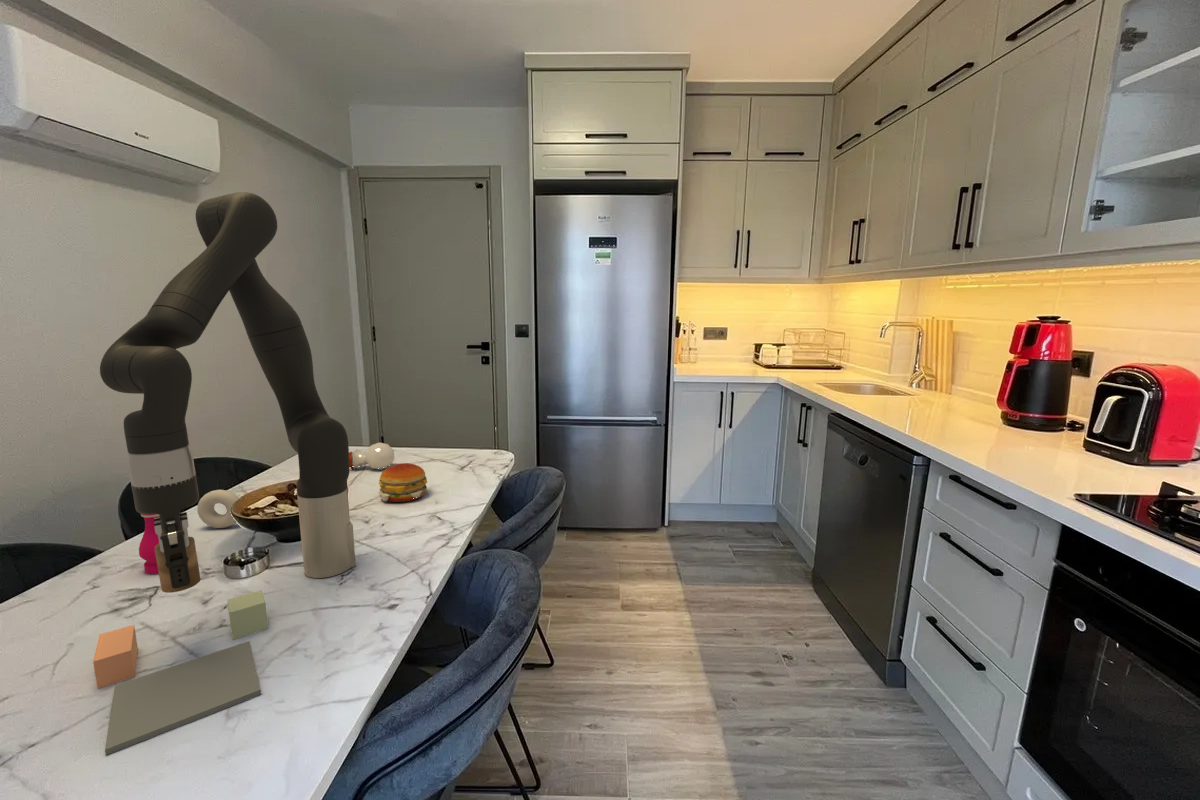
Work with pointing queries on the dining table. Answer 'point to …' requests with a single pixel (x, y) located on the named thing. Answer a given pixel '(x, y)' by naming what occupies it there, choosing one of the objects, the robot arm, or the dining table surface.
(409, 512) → the dining table surface
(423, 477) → the burger
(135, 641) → the terracotta brick
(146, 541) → the pepper mill
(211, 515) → the donut
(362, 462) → the potion bottle
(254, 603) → the sage cube
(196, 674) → the slate mat
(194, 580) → the walnut cylinder
